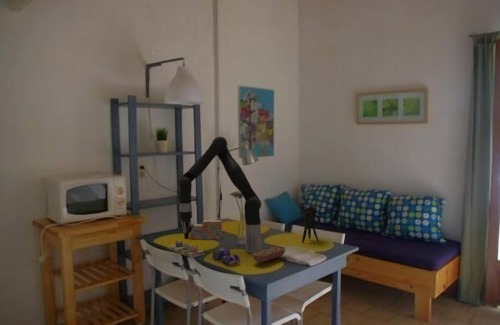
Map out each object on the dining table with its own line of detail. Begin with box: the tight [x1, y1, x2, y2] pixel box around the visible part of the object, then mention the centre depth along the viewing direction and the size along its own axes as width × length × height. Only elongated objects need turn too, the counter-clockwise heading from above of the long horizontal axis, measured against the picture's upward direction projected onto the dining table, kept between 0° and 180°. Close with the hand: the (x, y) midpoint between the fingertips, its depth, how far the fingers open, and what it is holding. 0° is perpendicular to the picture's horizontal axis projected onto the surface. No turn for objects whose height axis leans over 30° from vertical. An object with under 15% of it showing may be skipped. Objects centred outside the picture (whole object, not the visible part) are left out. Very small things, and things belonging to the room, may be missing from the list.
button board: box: [169, 244, 205, 258], centre depth 243 cm, size 24×9×2 cm, turn 42°
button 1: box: [190, 245, 199, 252], centre depth 237 cm, size 4×4×3 cm
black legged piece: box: [300, 203, 321, 244], centre depth 261 cm, size 19×12×25 cm, turn 138°
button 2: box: [183, 243, 191, 249], centre depth 243 cm, size 4×4×3 cm
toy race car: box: [212, 245, 242, 266], centre depth 226 cm, size 10×15×6 cm, turn 43°
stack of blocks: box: [189, 219, 223, 241], centre depth 276 cm, size 21×6×12 cm, turn 86°
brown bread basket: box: [252, 245, 286, 263], centre depth 228 cm, size 23×10×5 cm, turn 135°
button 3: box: [175, 240, 184, 247], centre depth 249 cm, size 4×4×3 cm
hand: (186, 238), depth 242 cm, fingers closed
